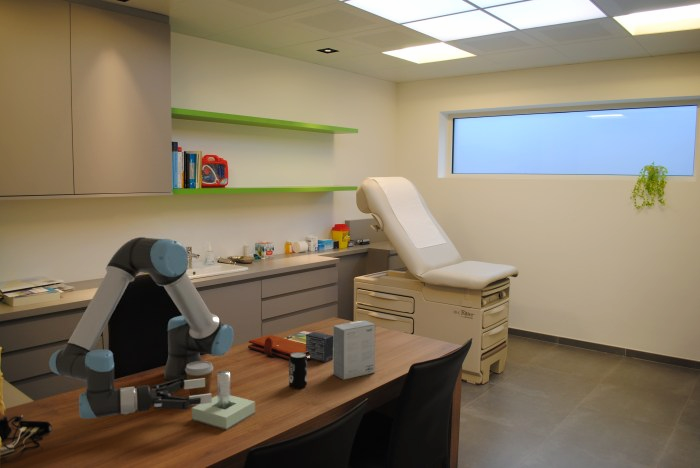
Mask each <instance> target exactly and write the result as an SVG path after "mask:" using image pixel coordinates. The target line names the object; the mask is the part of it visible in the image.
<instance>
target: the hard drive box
mask: <svg viewBox="0 0 700 468" xmlns="http://www.w3.org/2000/svg"><path fill="white" fill-rule="evenodd" d="M332 327H333V328H332V332H333V333H332V335H333V359H332V360H333V361H332V363H333V365H332V366H333V368H332V369H333V375H335V377H337V378H339V379H341V380H343V381H344V380H349V379H353V378H357V377H360V376H367V375H370V374H375V373H376V324H375V323H373V322H370V321H368V320H365V319H363V320H359V321H351V322H348V323H347V322H346V323H341V324H336V325H333V326H332Z"/></svg>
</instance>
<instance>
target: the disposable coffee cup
mask: <svg viewBox="0 0 700 468" xmlns="http://www.w3.org/2000/svg"><path fill="white" fill-rule="evenodd" d="M213 370H214V366H213V363H212V362H210V361H206V360H202V361H195V362H191V363H189V364H187V366H186V368H185V371H186V373H187V380H193V379H201V378H205V387H200V388H192V389H188V392H189V396H194V395H202V394H209V393H211V384H212V383H211V382H212V375H213Z"/></svg>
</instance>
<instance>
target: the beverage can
mask: <svg viewBox="0 0 700 468" xmlns="http://www.w3.org/2000/svg"><path fill="white" fill-rule="evenodd" d="M289 356H290V357H289V360H288V362H289V363H288V372H289V373H288V378H289V379H288V382H289V383H288V385H289V386H290V387H291V388H292V389H296V390H297V389H304V388H305V387H306V386H307V385H308V359H307V357H306V352H302V351H297V352H296V351H295V352H292V353H290V355H289Z"/></svg>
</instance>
